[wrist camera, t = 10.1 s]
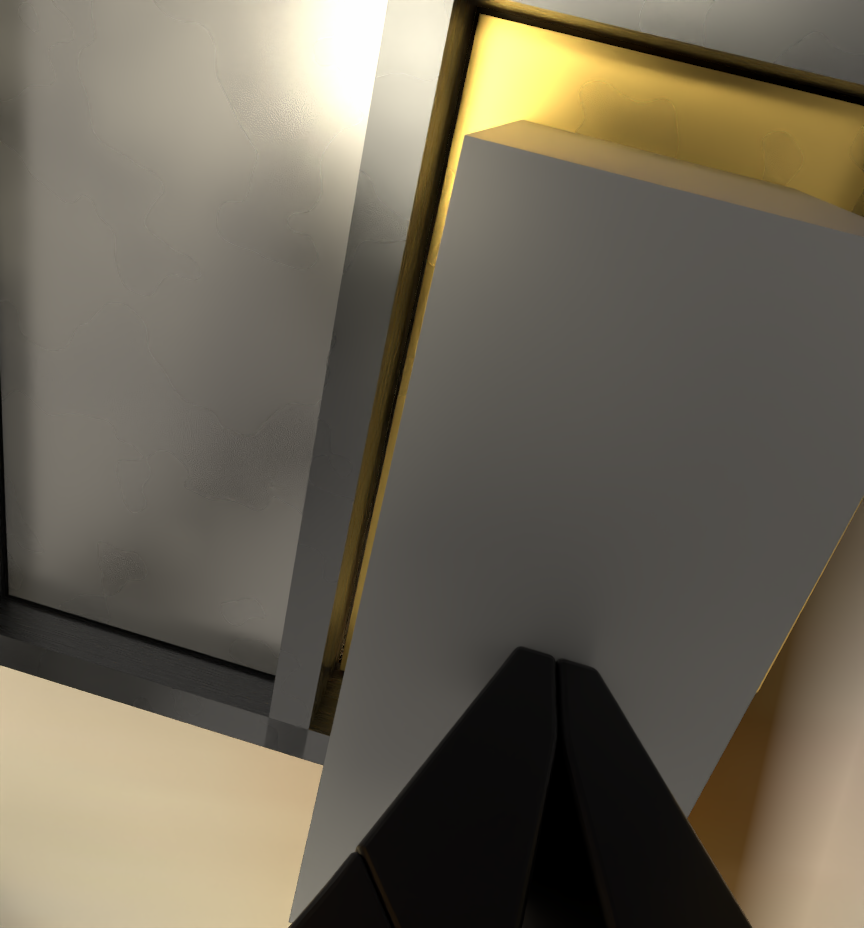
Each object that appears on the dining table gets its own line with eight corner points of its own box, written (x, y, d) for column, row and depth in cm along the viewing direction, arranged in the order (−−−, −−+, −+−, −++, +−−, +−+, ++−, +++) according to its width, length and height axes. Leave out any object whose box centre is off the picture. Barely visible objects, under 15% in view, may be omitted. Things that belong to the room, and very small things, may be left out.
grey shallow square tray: (655, 787, 17) (663, 871, 15) (2, 589, 17) (-65, 645, 16) (1018, 64, 10) (1108, 56, 8) (-30, -182, 11) (-146, -235, 9)
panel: (583, 702, 16) (581, 1018, 10) (387, 643, 16) (284, 921, 10) (797, 189, 11) (994, 270, 6) (518, 118, 11) (458, 133, 6)
